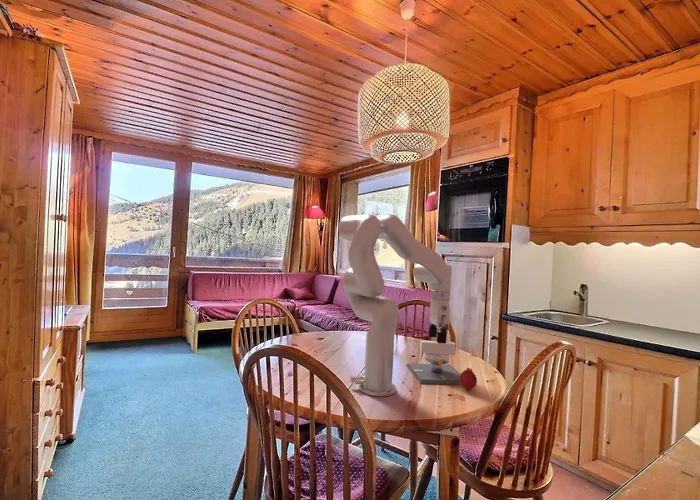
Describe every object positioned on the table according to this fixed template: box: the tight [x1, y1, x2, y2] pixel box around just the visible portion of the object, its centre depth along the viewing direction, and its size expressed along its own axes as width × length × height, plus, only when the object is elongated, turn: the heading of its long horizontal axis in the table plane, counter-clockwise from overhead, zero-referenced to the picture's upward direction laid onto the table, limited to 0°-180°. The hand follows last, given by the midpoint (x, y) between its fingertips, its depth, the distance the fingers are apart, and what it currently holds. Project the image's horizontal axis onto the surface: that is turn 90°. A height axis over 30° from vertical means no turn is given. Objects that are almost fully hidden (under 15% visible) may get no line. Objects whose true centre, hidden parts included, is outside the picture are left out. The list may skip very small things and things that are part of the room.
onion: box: [459, 367, 478, 392], centre depth 125 cm, size 6×6×8 cm
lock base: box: [406, 362, 462, 385], centre depth 139 cm, size 18×18×6 cm
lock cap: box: [419, 339, 457, 365], centre depth 138 cm, size 11×13×7 cm
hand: (436, 340), depth 139 cm, fingers open, 9 cm apart
